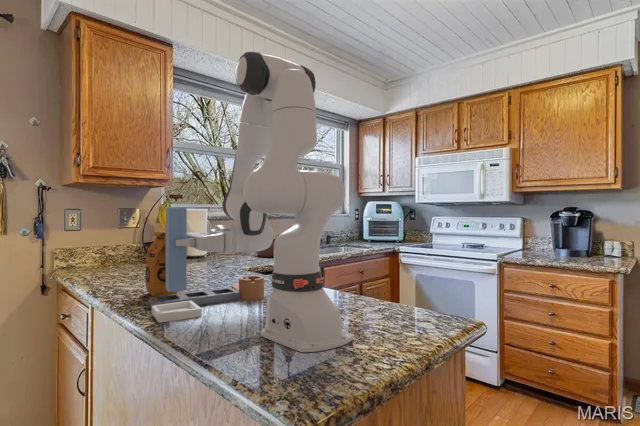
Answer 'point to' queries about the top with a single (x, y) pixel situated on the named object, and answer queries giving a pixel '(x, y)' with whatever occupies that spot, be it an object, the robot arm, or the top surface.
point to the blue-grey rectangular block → (176, 249)
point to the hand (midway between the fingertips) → (172, 241)
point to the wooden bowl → (267, 251)
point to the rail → (199, 297)
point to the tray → (176, 311)
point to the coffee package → (157, 267)
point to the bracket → (250, 288)
